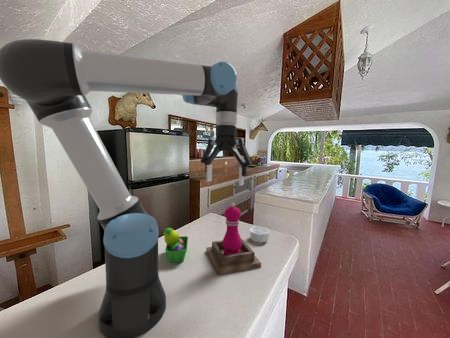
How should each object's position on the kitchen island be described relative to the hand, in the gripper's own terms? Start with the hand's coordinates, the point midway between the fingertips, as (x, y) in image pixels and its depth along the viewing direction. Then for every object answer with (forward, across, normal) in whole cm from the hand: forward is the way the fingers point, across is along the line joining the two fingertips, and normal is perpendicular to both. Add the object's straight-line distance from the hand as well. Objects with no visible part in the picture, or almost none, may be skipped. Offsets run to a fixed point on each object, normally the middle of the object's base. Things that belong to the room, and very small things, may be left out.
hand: (224, 183), depth 73 cm
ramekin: (+28, -7, -22) cm, 37 cm away
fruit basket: (+29, +16, +8) cm, 34 cm away
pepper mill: (+27, -4, 0) cm, 27 cm away
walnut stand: (+28, -4, -1) cm, 29 cm away
